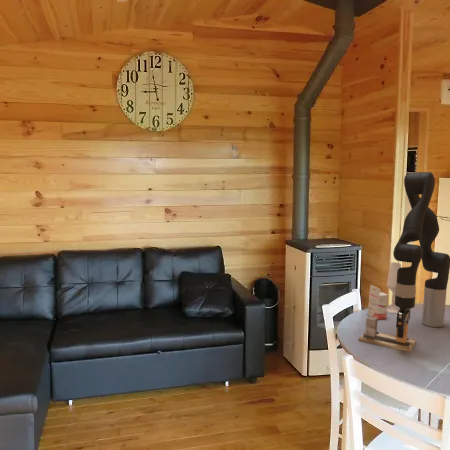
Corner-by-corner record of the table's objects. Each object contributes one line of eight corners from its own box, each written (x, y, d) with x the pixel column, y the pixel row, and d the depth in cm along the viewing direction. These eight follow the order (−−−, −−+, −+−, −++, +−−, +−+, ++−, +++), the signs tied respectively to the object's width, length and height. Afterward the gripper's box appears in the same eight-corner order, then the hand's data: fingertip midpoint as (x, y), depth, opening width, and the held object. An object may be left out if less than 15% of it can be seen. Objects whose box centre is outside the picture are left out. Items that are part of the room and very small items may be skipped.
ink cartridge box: (387, 319, 227) (389, 288, 225) (377, 320, 226) (380, 289, 224) (376, 313, 235) (378, 284, 234) (367, 314, 234) (369, 284, 232)
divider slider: (400, 336, 200) (401, 317, 198) (409, 338, 198) (411, 319, 197) (395, 343, 192) (396, 324, 191) (404, 345, 190) (406, 325, 189)
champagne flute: (385, 312, 238) (388, 264, 235) (385, 308, 245) (388, 261, 241) (399, 313, 236) (403, 265, 233) (399, 309, 243) (402, 262, 240)
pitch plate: (366, 332, 208) (368, 310, 207) (415, 342, 198) (417, 319, 197) (358, 341, 198) (360, 318, 197) (410, 351, 188) (411, 327, 187)
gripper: (399, 289, 198) (396, 327, 200) (391, 297, 186) (388, 337, 188) (418, 291, 194) (415, 330, 196) (411, 300, 182) (408, 341, 184)
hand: (402, 334), depth 192 cm, fingers open, 8 cm apart
